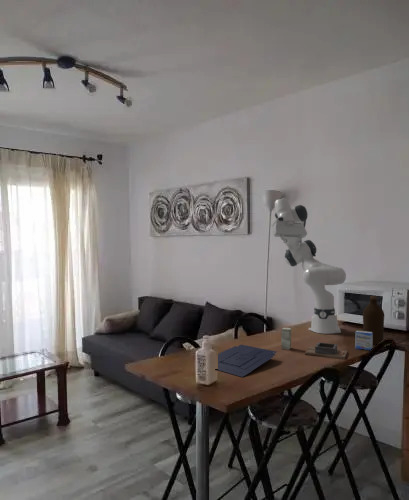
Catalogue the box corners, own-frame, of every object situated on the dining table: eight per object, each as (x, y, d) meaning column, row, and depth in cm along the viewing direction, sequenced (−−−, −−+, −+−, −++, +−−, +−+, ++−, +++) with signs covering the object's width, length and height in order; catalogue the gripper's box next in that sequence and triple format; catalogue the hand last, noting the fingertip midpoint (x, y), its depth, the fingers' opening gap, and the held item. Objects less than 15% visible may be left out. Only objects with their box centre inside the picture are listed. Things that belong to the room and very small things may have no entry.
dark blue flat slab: (281, 358, 183) (280, 350, 182) (243, 383, 160) (242, 375, 160) (238, 349, 199) (237, 342, 198) (198, 371, 176) (197, 363, 176)
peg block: (283, 347, 206) (283, 327, 206) (291, 347, 205) (291, 328, 204) (281, 348, 203) (281, 329, 202) (289, 349, 201) (289, 330, 201)
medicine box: (355, 348, 202) (355, 331, 202) (356, 346, 206) (356, 330, 206) (371, 350, 198) (371, 333, 198) (372, 348, 202) (372, 331, 202)
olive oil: (378, 346, 205) (378, 298, 205) (358, 342, 214) (358, 296, 213) (388, 343, 212) (388, 296, 212) (369, 339, 220) (369, 294, 220)
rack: (309, 348, 203) (309, 340, 202) (347, 352, 195) (347, 344, 195) (305, 354, 192) (305, 346, 192) (344, 359, 184) (344, 350, 184)
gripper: (299, 226, 235) (306, 246, 228) (269, 224, 228) (274, 245, 221) (305, 220, 230) (312, 240, 223) (274, 218, 223) (279, 239, 216)
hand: (293, 242), depth 222 cm, fingers open, 8 cm apart
